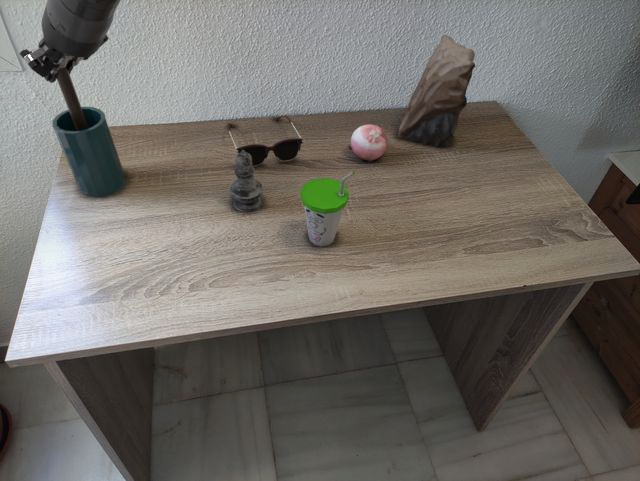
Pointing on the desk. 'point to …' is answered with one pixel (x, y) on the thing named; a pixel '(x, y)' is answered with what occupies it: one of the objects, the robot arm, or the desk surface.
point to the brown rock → (439, 95)
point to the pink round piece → (368, 142)
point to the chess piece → (246, 185)
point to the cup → (324, 208)
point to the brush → (71, 99)
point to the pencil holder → (90, 153)
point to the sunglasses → (272, 148)
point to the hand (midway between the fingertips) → (55, 74)
